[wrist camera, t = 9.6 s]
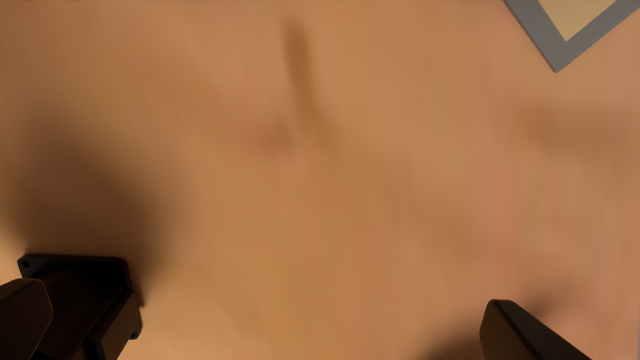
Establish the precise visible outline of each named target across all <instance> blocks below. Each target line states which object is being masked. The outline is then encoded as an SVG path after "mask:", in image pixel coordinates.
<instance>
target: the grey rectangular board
mask: <svg viewBox="0 0 640 360" xmlns="http://www.w3.org/2000/svg"><path fill="white" fill-rule="evenodd" d="M503 1H504V3H505V4H506V5H507V7H508V8H509V10H510V11H511V12H512V14H513V15H514V17H515V18H516V19H517V21H518V22H519V24H520V25H521V27H522V28H523V29H524V31H525V32H526V34H527V35H528V36H529V38H530V39H531V41H532V42H533V43H534V45H535V46H536V48H537V49H538V50H539V52H540V53H541V55H542V56H543V57H544V59H545V60H546V62H547V63H548V64H549V66H550V67H551V69H552V70H553V72H556V73H558V72H559V71H560V70H562V69H563V68H564V67H565V66H567V65H568V64H569V63H570V62H572V61H573V60H574V59H575V58H577V57H578V56H579V55H580V54H582V53H583V52H584V51H585V50H587V49H588V48H589V47H590V46H592V45H593V44H594V43H595V42H597V41H598V40H599V39H600V38H602V37H603V36H604V35H605V34H607V33H608V32H609V31H610V30H612V29H613V28H614V27H615V26H617V25H618V24H619V23H620V22H622V21H623V20H624V19H625V18H627V17H628V16H629V15H630V14H632V13H633V12H634V11H635V10H637V9H638V8H639V7H640V0H503Z"/></svg>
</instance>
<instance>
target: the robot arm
mask: <svg viewBox="0 0 640 360" xmlns="http://www.w3.org/2000/svg"><path fill="white" fill-rule="evenodd" d="M17 263H18V267H19V269H20V272H21V275H22V278H19V279H15V280H12V281H10V282H8V283H6V284H3V285H1V286H0V360H117V358H118V357H119V355H120V353H121V352H122V350H123V348H124V347H125V345H126V343H127V342H128V340H134V339H137V338H138V336H139V335H140V333H141V327H140V322H139V321H140V315H139V310H138V306H137V301H136V296H135V292H134V290H133V289H132V285H131V280H130V275H129V271H128V266H127V263H126V261H125V260H123V259H121V258H116V257H92V256H68V255H44V254H25V255H23V256H22V257H21V258H20V259H18V261H17ZM116 265H118V266H119V267H117V266H116ZM480 342H481V346H482V349H483V353H484V357H485V360H592V359H590V358H589V357H588V356H586V355H585V354H584V353H582V352H581V351H580V350H578V349H577V348H576V347H574V346H573V345H571V344H570V343H569V342H567V341H566V340H565V339H563V338H562V337H561V336H559V335H558V334H557V333H555V332H554V331H553V330H551V329H550V328H549V327H547V326H546V325H545V324H543V323H542V322H540V321H539V320H538V319H536V318H535V317H534V316H532V315H531V314H530V313H528V312H527V311H526V310H524V309H523V308H522V307H520V306H519V305H518V304H516V303H515V302H513V301H511V300H500V299H492V300H490V301H489V302H488V304H487V307H486V310H485V313H484V317H483V320H482V323H481V327H480Z"/></svg>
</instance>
